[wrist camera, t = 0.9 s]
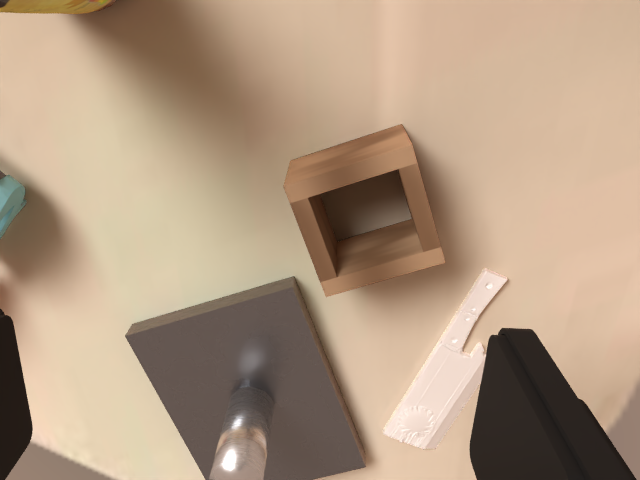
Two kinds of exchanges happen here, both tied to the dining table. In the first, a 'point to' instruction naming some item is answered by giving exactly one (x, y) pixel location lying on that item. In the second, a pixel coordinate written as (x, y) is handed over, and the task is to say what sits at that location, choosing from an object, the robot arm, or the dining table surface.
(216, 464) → the post stand
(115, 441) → the dining table surface
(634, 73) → the dining table surface
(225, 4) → the dining table surface
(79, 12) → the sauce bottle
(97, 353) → the dining table surface
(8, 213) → the novelty glasses
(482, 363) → the butcher knife
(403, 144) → the wooden box
